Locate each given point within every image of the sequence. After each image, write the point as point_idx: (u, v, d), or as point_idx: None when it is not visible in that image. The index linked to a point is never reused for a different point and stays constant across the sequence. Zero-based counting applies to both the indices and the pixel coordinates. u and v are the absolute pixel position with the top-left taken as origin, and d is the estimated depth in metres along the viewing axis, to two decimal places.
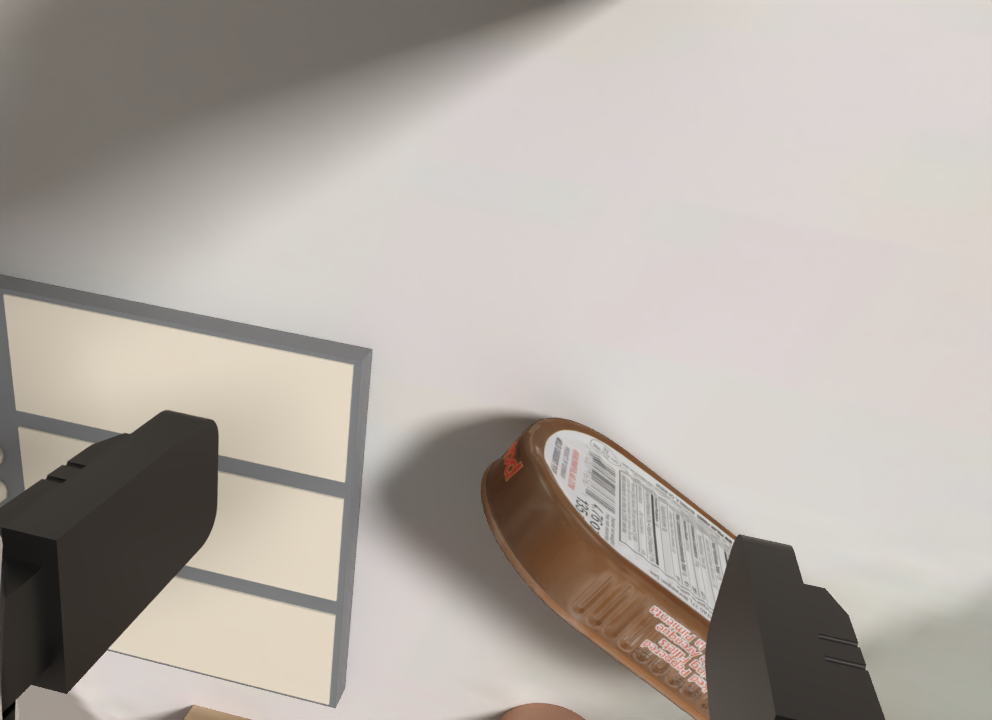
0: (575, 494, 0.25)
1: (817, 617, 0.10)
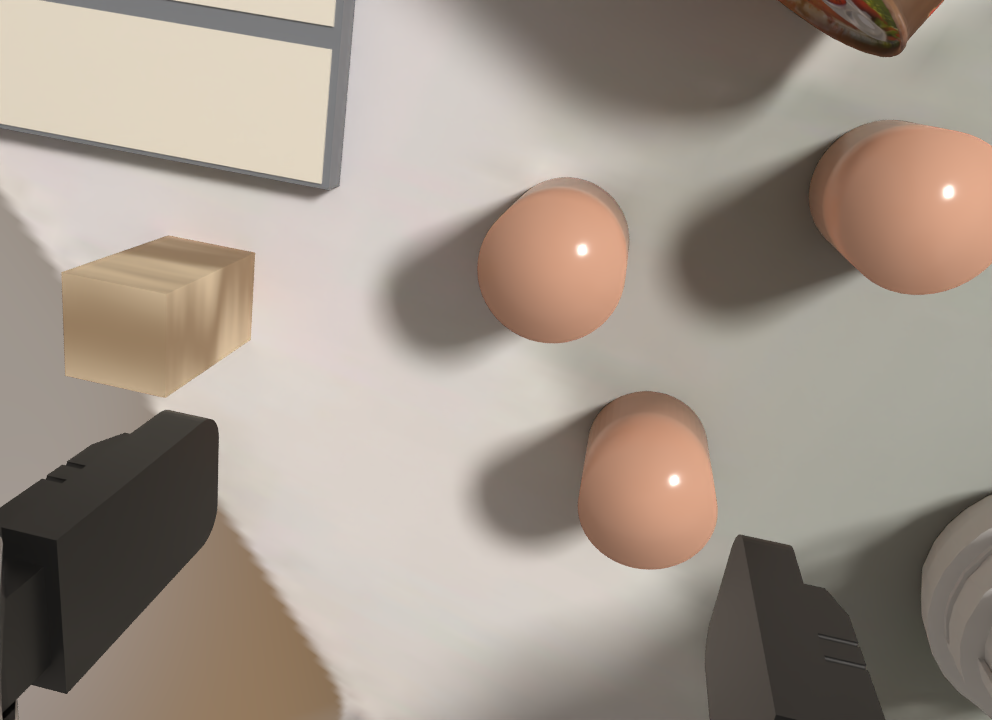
0: None
1: (817, 617, 0.10)
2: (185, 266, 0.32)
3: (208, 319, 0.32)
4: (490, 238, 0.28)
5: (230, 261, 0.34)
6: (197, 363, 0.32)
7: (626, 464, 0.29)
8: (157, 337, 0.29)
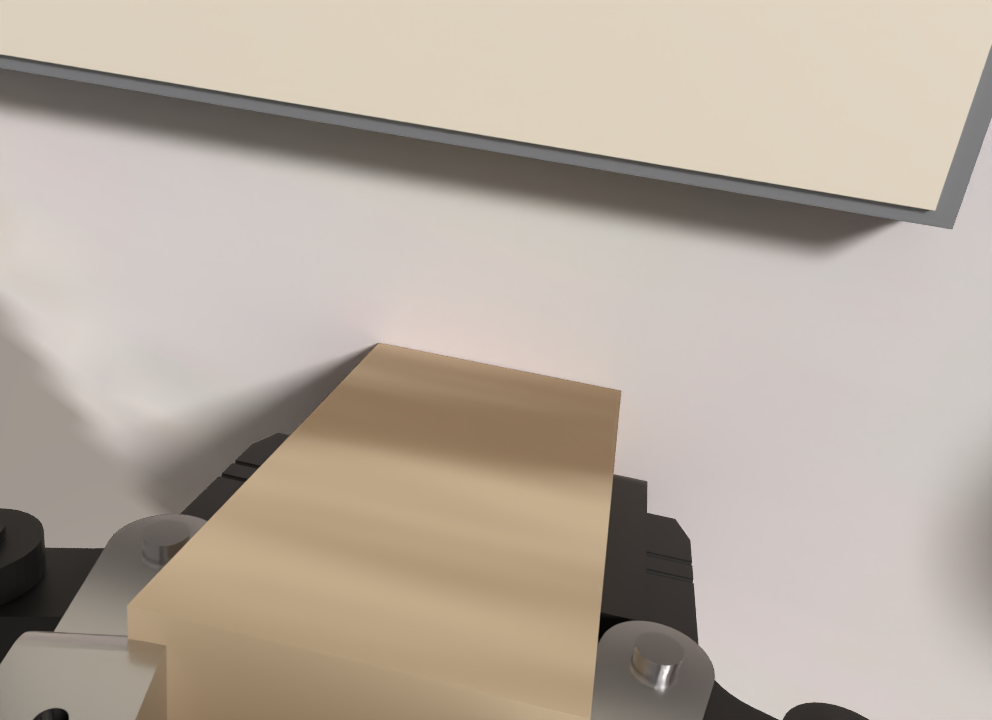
0: None
1: (660, 541, 0.12)
2: (514, 484, 0.10)
3: None
4: None
5: (604, 441, 0.11)
6: None
7: None
8: None
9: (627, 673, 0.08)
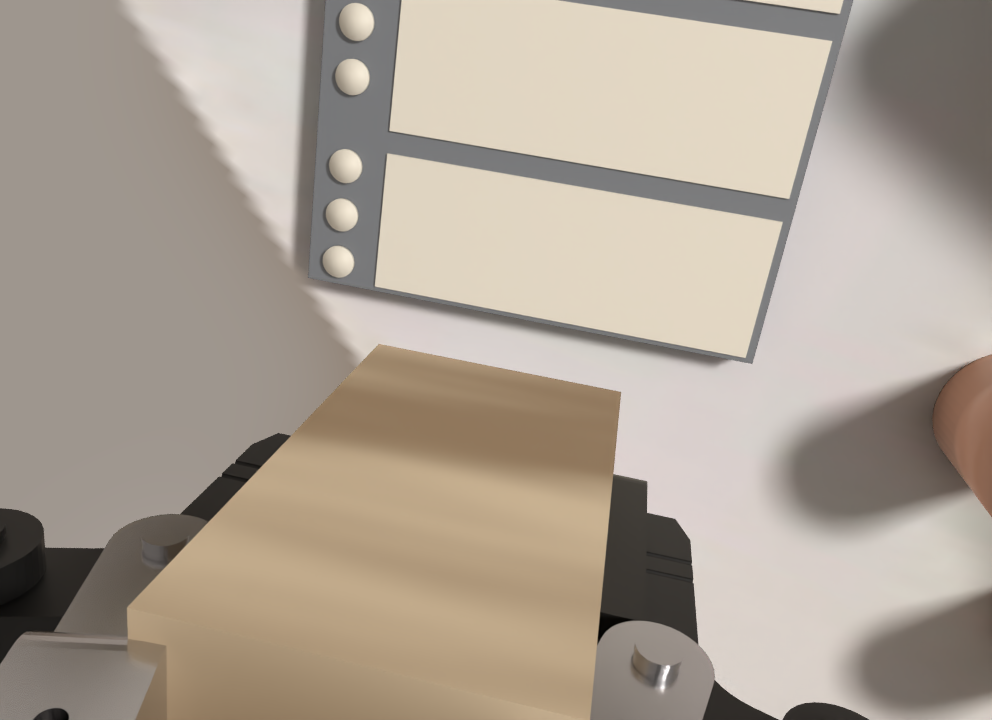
0: None
1: (660, 541, 0.12)
2: (514, 486, 0.10)
3: None
4: None
5: (603, 442, 0.11)
6: None
7: None
8: None
9: (627, 673, 0.08)
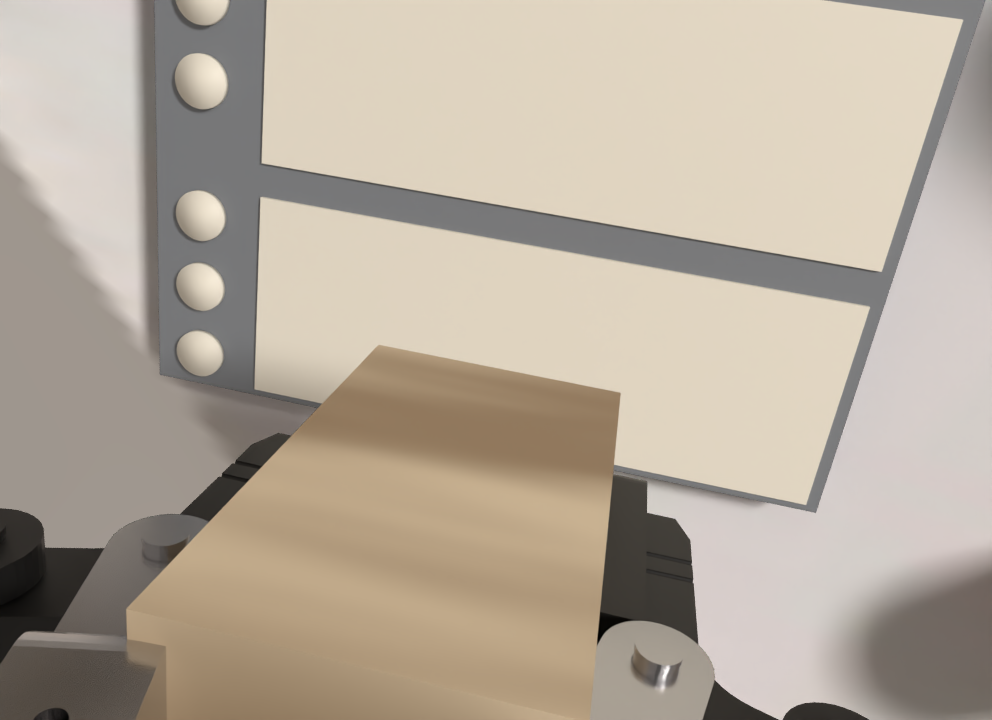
0: None
1: (659, 541, 0.12)
2: (513, 487, 0.10)
3: None
4: None
5: (604, 442, 0.11)
6: None
7: None
8: None
9: (627, 673, 0.08)
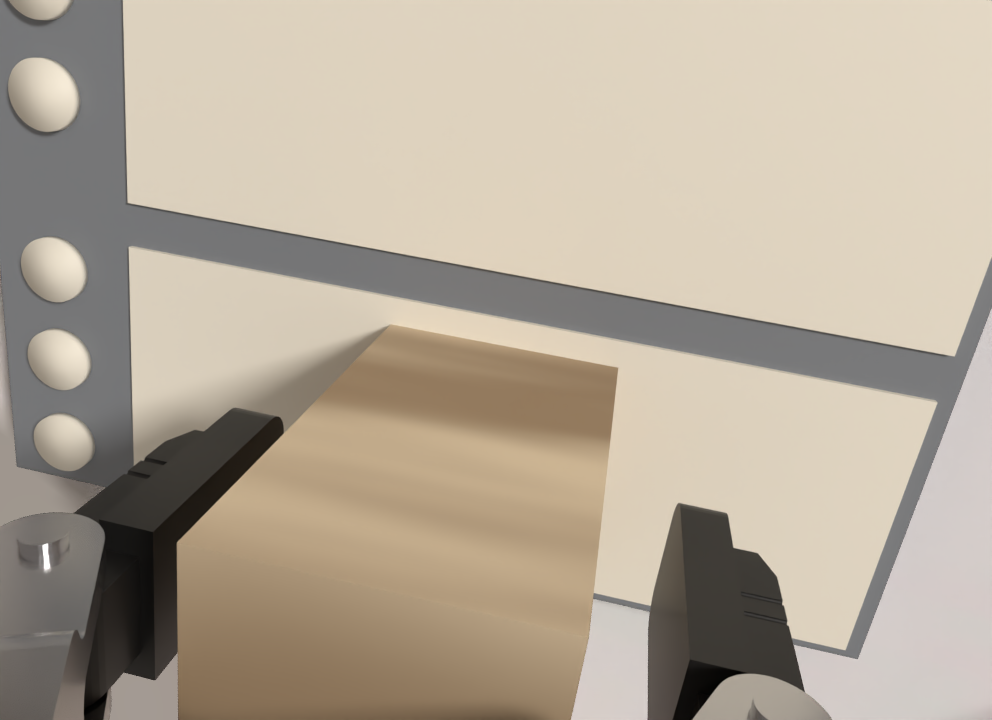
0: None
1: (746, 578, 0.11)
2: (519, 447, 0.11)
3: None
4: None
5: (602, 410, 0.12)
6: None
7: None
8: None
9: None
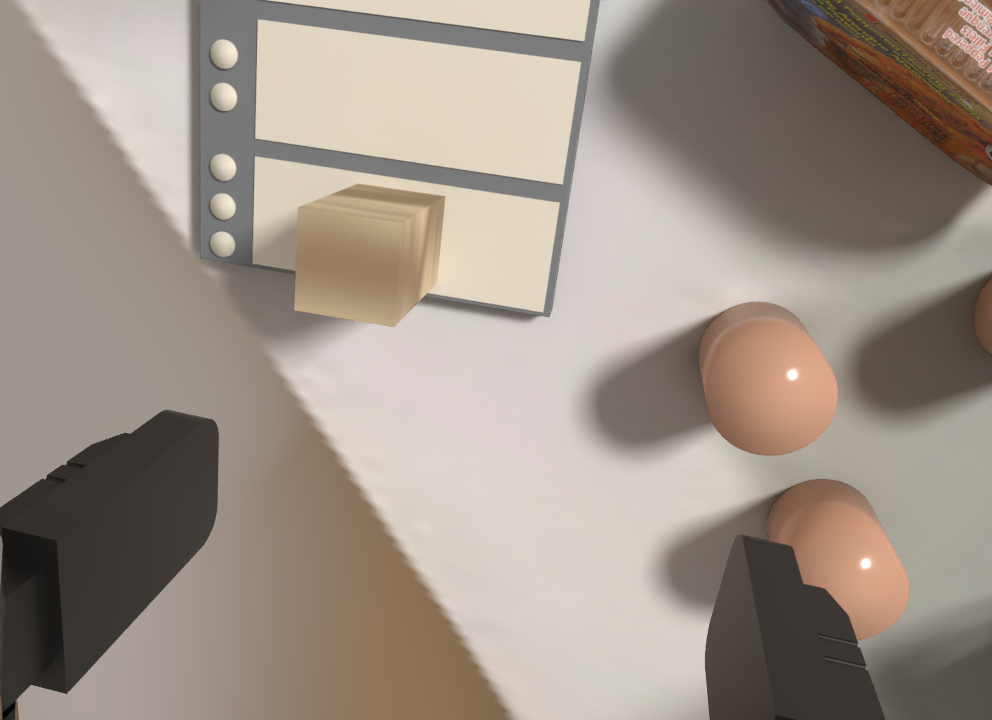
0: None
1: (817, 617, 0.10)
2: (397, 204, 0.33)
3: (419, 256, 0.33)
4: (720, 371, 0.33)
5: (431, 202, 0.35)
6: (411, 298, 0.33)
7: (830, 554, 0.34)
8: (390, 266, 0.31)
9: None
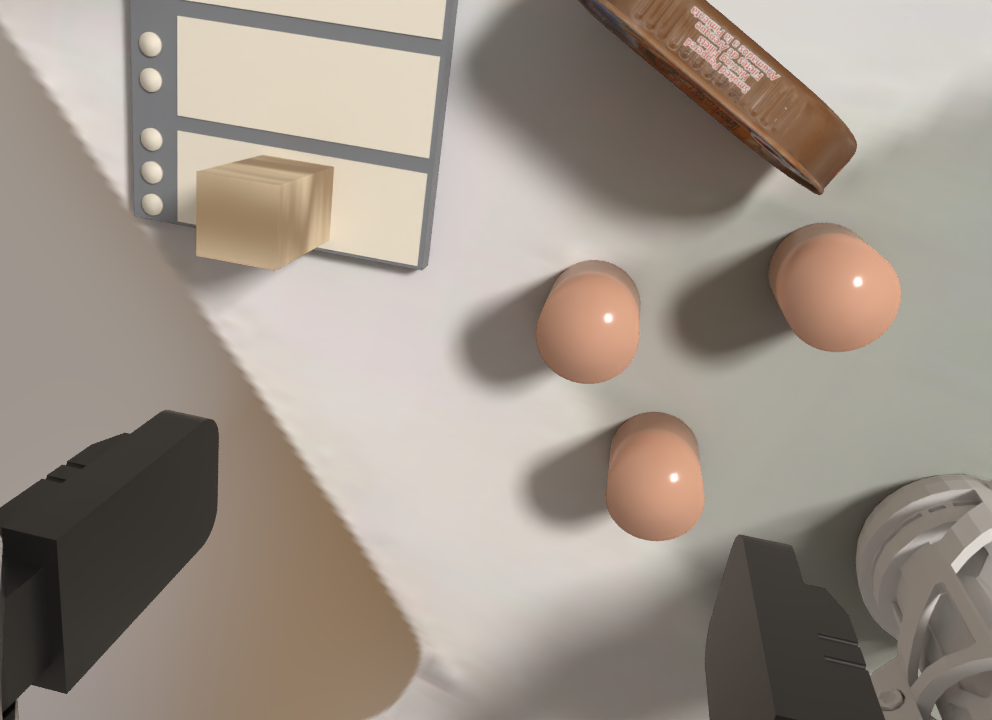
0: None
1: (817, 617, 0.10)
2: (285, 172, 0.41)
3: (303, 214, 0.41)
4: (545, 313, 0.40)
5: (317, 170, 0.42)
6: (295, 249, 0.41)
7: (640, 466, 0.42)
8: (270, 220, 0.38)
9: None
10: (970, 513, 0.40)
